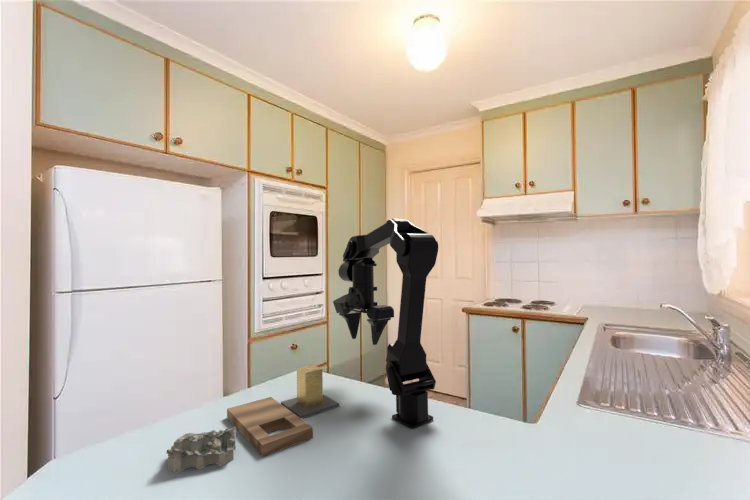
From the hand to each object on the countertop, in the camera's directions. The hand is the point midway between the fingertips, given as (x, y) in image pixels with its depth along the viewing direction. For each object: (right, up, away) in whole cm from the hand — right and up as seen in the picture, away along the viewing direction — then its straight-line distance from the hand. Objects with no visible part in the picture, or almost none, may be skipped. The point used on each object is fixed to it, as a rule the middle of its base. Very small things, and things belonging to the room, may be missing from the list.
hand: (364, 341), depth 97 cm
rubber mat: (-12, -12, -12) cm, 21 cm away
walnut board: (-19, -12, -22) cm, 32 cm away
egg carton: (-27, -12, -33) cm, 45 cm away
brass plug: (-12, -11, -12) cm, 20 cm away
